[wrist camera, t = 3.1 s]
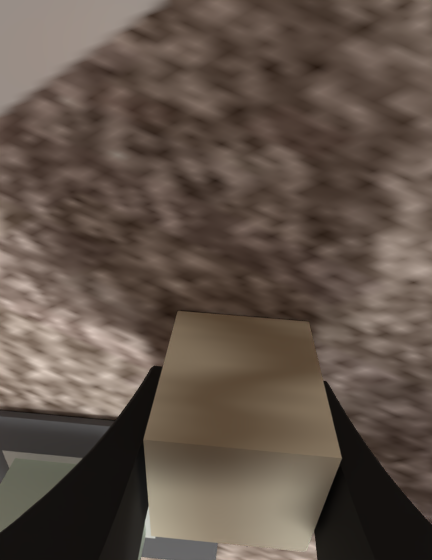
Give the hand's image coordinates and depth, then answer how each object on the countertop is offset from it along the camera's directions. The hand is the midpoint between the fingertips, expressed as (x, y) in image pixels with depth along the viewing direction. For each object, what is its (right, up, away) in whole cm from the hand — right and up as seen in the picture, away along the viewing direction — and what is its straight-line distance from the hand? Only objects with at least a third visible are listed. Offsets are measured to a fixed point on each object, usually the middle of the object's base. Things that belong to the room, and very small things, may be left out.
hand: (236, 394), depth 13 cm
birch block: (0, +1, +1) cm, 1 cm away
